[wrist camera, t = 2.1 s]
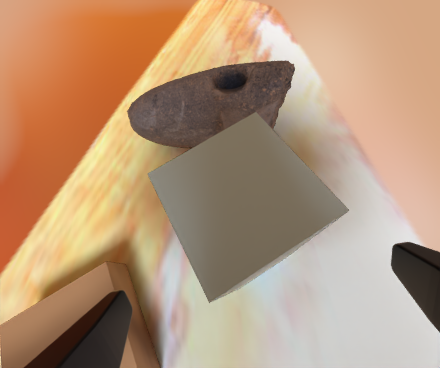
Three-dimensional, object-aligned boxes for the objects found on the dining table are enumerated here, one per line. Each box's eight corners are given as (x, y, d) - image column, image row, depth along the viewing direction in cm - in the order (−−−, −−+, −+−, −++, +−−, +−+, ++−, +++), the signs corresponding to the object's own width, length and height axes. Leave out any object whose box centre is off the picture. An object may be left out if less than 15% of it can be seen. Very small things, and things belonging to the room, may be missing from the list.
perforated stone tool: (140, 161, 22) (95, 114, 16) (149, 122, 24) (112, 66, 18) (290, 153, 20) (307, 93, 14) (284, 110, 22) (296, 42, 16)
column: (284, 258, 16) (349, 210, 5) (240, 288, 16) (209, 302, 5) (254, 215, 18) (255, 111, 7) (213, 240, 17) (147, 173, 6)
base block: (164, 371, 14) (144, 391, 12) (55, 445, 14) (7, 485, 11) (127, 264, 18) (105, 261, 15) (39, 318, 17) (-1, 325, 14)
